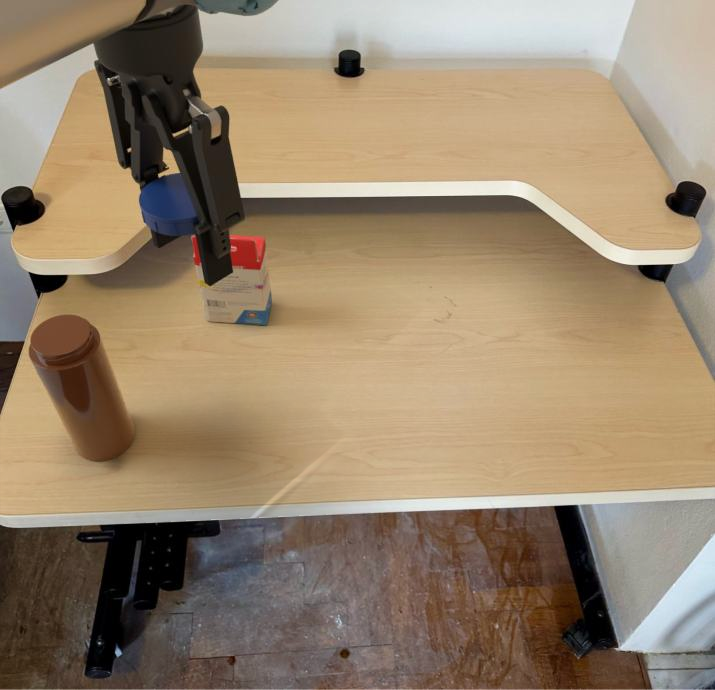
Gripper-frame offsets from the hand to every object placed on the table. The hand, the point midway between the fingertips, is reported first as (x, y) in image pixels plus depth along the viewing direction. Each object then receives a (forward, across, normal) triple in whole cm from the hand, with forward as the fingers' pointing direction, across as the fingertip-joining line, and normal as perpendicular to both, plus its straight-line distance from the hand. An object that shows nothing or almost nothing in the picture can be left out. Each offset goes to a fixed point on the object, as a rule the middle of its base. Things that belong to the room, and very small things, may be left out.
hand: (192, 258), depth 63 cm
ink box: (+25, +12, -13) cm, 31 cm away
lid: (-7, 0, 0) cm, 7 cm away
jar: (+25, +8, +12) cm, 28 cm away
